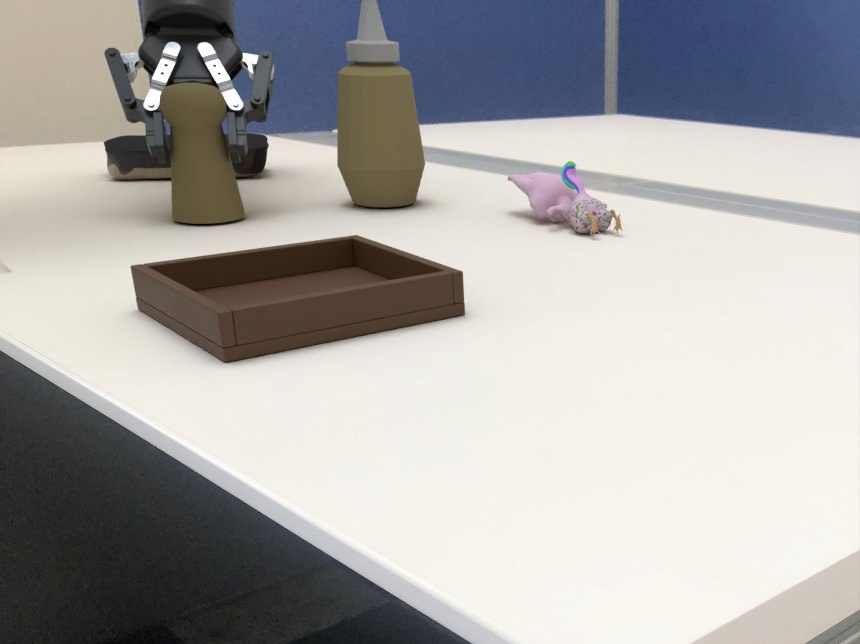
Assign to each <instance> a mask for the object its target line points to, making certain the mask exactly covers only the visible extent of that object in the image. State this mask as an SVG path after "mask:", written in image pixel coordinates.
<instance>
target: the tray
mask: <svg viewBox="0 0 860 644" xmlns="http://www.w3.org/2000/svg"><path fill="white" fill-rule="evenodd" d="M130 273H131V277H132V284H133V288H134V295H135V301H136V306H137V310H139V311H141V312H142V313H144V314H145V315H147V316H149V317H150V318H152V319H153V320H155V321H156V322H158V323H160V324H162V325H163V326H164V327H166V328H168V329H170V330H171V331H173V332H175V333H176V334H178V335H180V336H181V337H183V338H185V339H186V340H188V341H189V342H191V343H193V344H194V345H196V346H198V347H199V348H200V349H203V350H204V351H206V352H207V353H209V354H210V355H213V356H214V357H216V358H217V359H219V360H220V361H222V362H224V363H228V362H229V363H230V362H234V361H239V360H244V359H249V358H254V357H260V356H263V355H269V354H274V353H279V352H283V351H289V350H293V349H300V348H303V347H309V346H314V345H319V344H320V345H321V344H325V343H329V342H334V341H340V340H345V339H349V338H354V337H359V336H365V335H368V334H374V333H379V332H385V331H389V330H394V329H400V328H405V327H409V326H414V325H418V324H419V325H420V324H423V323H429V322H434V321H438V320H439V321H441V320H444V319H449V318H454V317H460V316H464V315H466V306H465V305H466V304H465V289H464V287H465V286H464V271H463V270H460V269H456V268H454V267H452V266H448V265H446V264H442V263H440V262H437V261H434V260H431V259H427V258H425V257H422V256H419V255H416V254H413V253H410V252H407V251H405V250H403V249H402V250H401V249H399V248H396V247H393V246H390V245H387V244H384V243H381V242H378V241H375V240H372V239H370V238H367V237H364V236H361V235H358V234H352V235H346V236H338V237H331V238H322V239H316V240H309V241H302V242H294V243H287V244H286V243H285V244H280V245H279V244H278V245H272V246H263V247H257V248H250V249H249V248H248V249H243V250H235V251H228V252H219V253H213V254H206V255H205V254H204V255H198V256H191V257H184V258H177V259H168V260H161V261H160V260H159V261H153V262H147V263H140V264H139V263H138V264H133V265H130Z"/></svg>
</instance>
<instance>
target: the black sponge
mask: <svg viewBox="0 0 860 644" xmlns="http://www.w3.org/2000/svg"><path fill="white" fill-rule="evenodd" d="M224 135H225V139H226V143H227V147H228V150H229V141H228V133H224ZM246 135H247V147H248V152H247V154H246V156H240V162H232V161H231V162H232V165H233V169H234V173H235V177H236V178H244V177H245V178H247V177H254V176H257V175H260V173H262V172H264V169H265V167H266V164H267V159H268V158H267V157H268V149H269V147H270V146H269V145H270V144H269V142H268V139H269V138H268V137H267V136H266V135H265V134H261V133H251V132H250V133H249V132H248V133H247V132H246ZM103 145H104V150H105V153H106V168H107V172H108V174H109V176H111V177H112V178H115V179H116V180H151V179H152V180H153V179H155V180H156V179H159V180H161V179H171V140H170V134H167V147H168V163H159V161H158V158H157V157H152V156H151V154H150V152H149V149H148V146H147V142H146V134H145V135H141V134H140V135H136V134H135V135H133V134H132V135H130V134H127V135H119V136H116V137H112V138H109V139H107V140H105V141H103ZM229 154H230V150H229ZM230 158H231V156H230Z"/></svg>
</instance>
